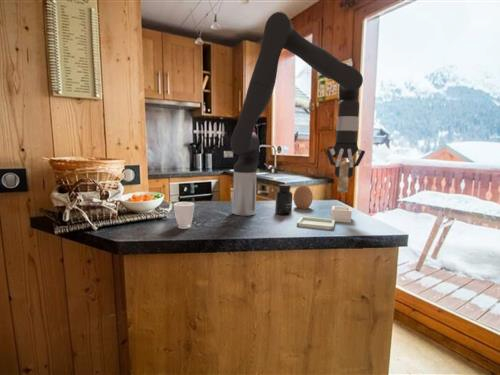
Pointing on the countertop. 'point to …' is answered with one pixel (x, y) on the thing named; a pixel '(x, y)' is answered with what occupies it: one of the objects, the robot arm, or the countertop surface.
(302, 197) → the egg
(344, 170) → the dowel
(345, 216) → the holder cup
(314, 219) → the tray
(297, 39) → the robot arm
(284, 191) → the supplement bottle
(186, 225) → the cup
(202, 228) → the countertop surface
